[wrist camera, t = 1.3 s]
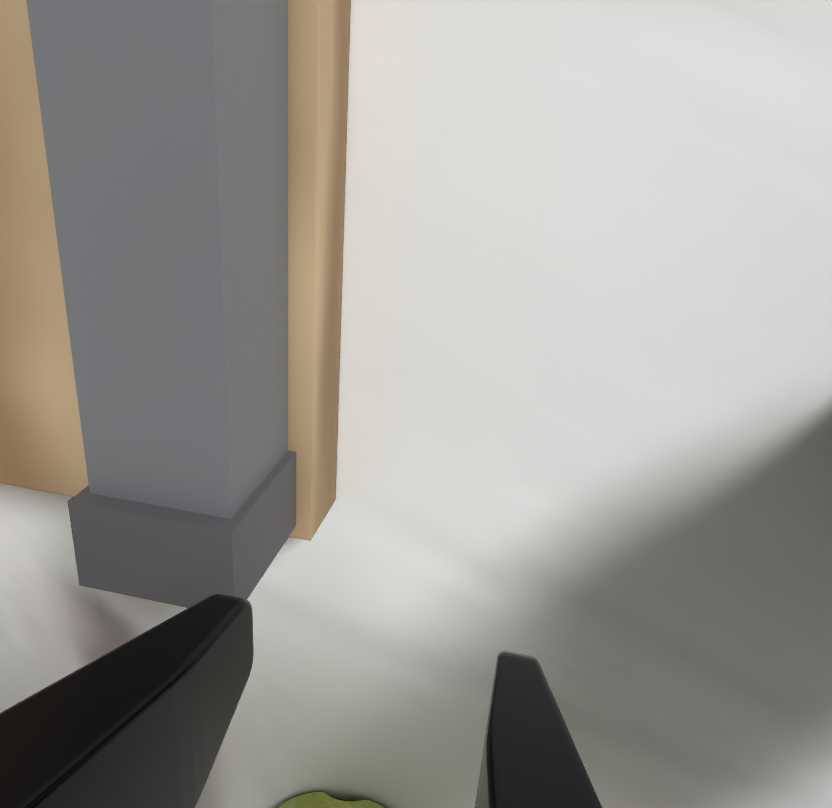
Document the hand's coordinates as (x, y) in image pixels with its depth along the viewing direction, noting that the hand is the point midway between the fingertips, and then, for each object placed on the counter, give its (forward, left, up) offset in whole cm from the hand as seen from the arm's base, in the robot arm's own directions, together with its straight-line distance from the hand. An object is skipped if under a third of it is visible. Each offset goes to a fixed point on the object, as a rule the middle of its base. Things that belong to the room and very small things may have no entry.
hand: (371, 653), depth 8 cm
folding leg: (+5, -4, -8) cm, 10 cm away
